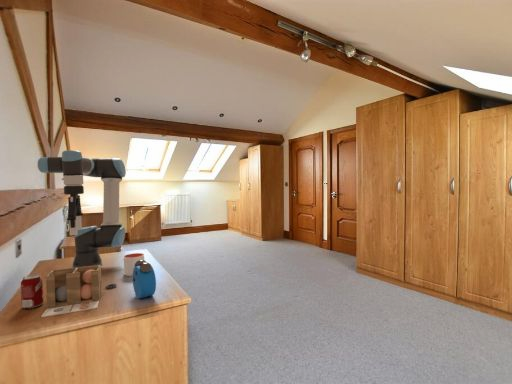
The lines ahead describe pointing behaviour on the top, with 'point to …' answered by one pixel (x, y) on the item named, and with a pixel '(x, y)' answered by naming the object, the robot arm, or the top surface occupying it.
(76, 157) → the robot arm
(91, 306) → the card
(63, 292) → the ball grey
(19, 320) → the top surface
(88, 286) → the terracotta ball
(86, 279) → the terra ball
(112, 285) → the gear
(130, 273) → the cup
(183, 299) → the top surface
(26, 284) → the soda can
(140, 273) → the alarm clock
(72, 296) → the box
